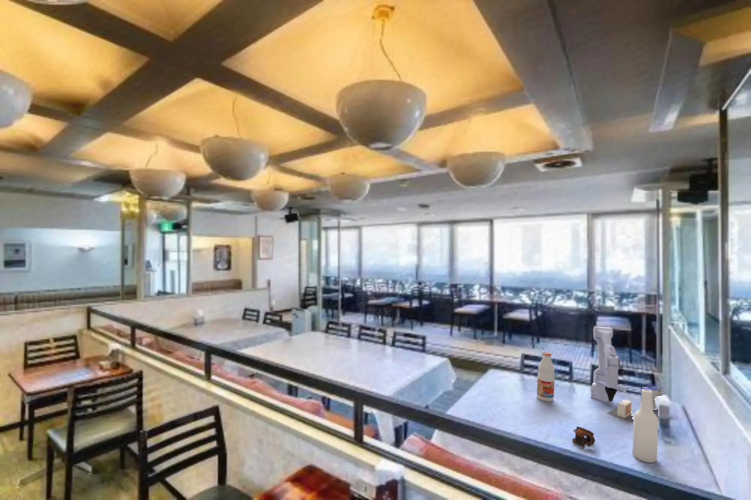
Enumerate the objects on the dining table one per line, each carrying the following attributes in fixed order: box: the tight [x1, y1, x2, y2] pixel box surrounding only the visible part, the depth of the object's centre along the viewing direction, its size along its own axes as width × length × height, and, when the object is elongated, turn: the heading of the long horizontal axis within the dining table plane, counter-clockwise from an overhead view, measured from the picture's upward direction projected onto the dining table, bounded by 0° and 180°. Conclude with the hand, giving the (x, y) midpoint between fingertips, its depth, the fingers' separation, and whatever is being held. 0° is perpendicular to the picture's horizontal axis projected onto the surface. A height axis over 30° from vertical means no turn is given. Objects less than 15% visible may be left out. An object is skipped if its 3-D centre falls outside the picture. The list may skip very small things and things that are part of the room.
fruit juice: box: [536, 351, 555, 403], centre depth 230 cm, size 9×9×28 cm
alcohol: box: [631, 389, 659, 464], centre depth 167 cm, size 9×9×30 cm
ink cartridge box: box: [640, 382, 663, 409], centre depth 220 cm, size 10×6×14 cm, turn 102°
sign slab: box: [617, 399, 632, 418], centre depth 210 cm, size 4×9×7 cm, turn 126°
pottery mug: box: [572, 426, 596, 449], centre depth 177 cm, size 12×10×8 cm
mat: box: [606, 406, 634, 424], centre depth 210 cm, size 14×16×1 cm
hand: (610, 400), depth 215 cm, fingers closed
